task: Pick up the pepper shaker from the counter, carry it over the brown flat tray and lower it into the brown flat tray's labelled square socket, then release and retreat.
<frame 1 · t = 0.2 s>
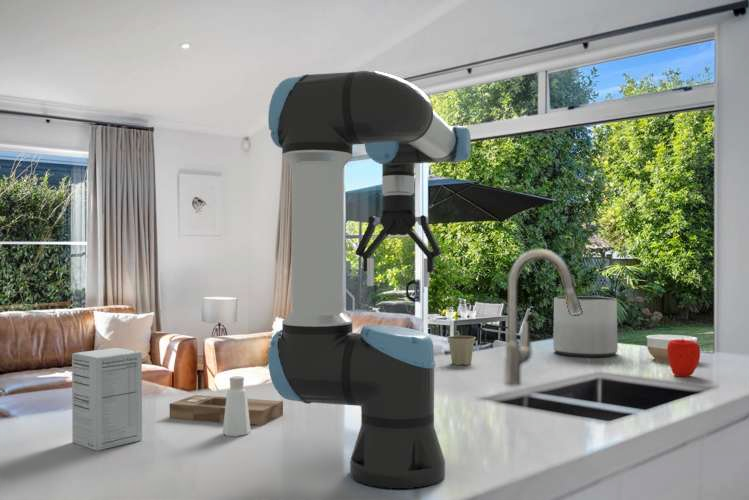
hand: (398, 286, 161), 28 cm above the counter, fingers open, 13 cm apart
planter: (585, 354, 249), on the counter
pepper shaker: (236, 434, 136), on the counter
bowl: (671, 361, 233), on the counter
brown flat tray: (226, 416, 150), on the counter
flower pot: (461, 364, 224), on the counter
supplement box: (107, 442, 130), on the counter
apple: (683, 376, 203), on the counter
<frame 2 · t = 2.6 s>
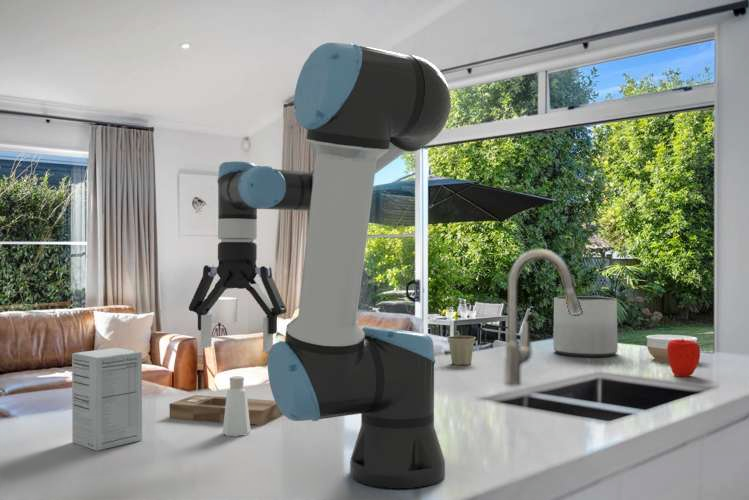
hand: (236, 349, 136), 16 cm above the counter, fingers open, 13 cm apart
nothing on the counter moved.
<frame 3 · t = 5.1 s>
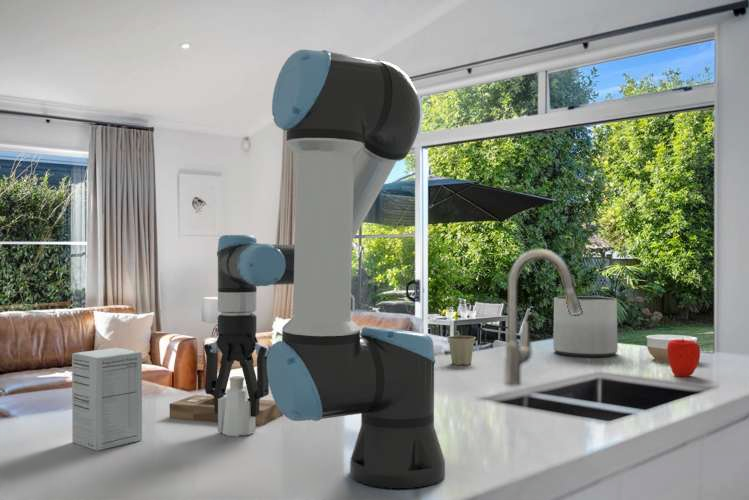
hand: (236, 431, 136), 0 cm above the counter, fingers closed on pepper shaker, 5 cm apart
pepper shaker: (236, 434, 136), on the counter, touching gripper
everything else where it was.
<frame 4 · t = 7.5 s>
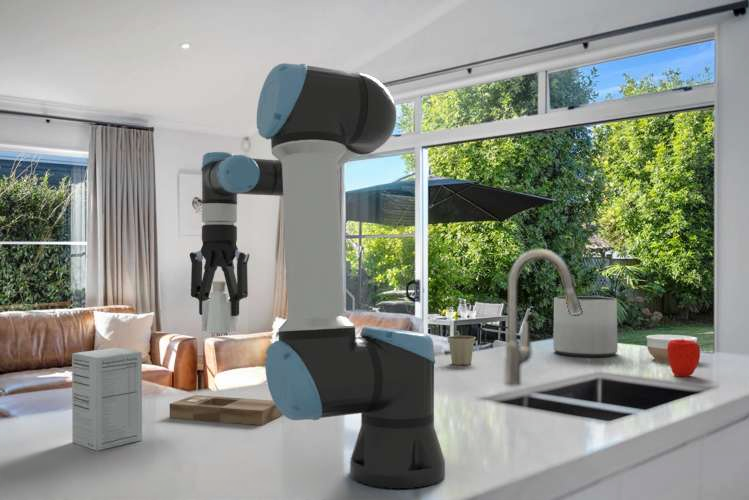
hand: (218, 330, 151), 19 cm above the counter, fingers closed on pepper shaker, 5 cm apart
pepper shaker: (218, 332, 151), point 18 cm above the counter, touching gripper
everything else where it was.
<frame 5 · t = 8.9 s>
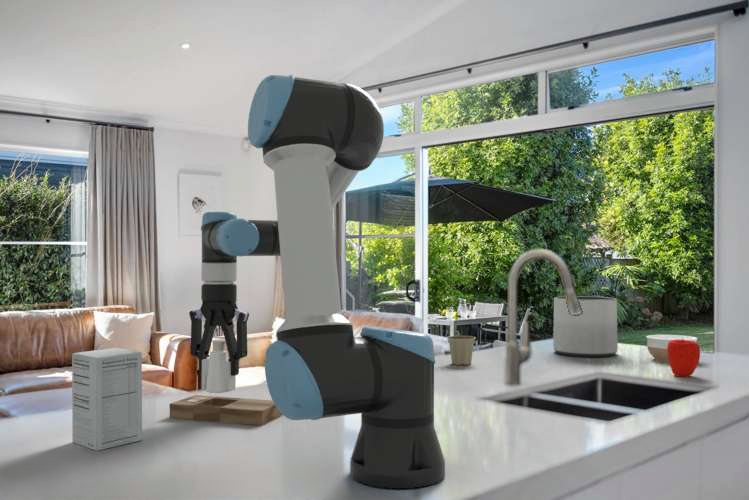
hand: (218, 389, 151), 6 cm above the counter, fingers closed on pepper shaker, 5 cm apart
pepper shaker: (218, 391, 151), point 5 cm above the counter, touching gripper
everything else where it was.
when the fingers open (4 cm above the counter, at t = 9.9 s): pepper shaker drops 3 cm, resting in brown flat tray.
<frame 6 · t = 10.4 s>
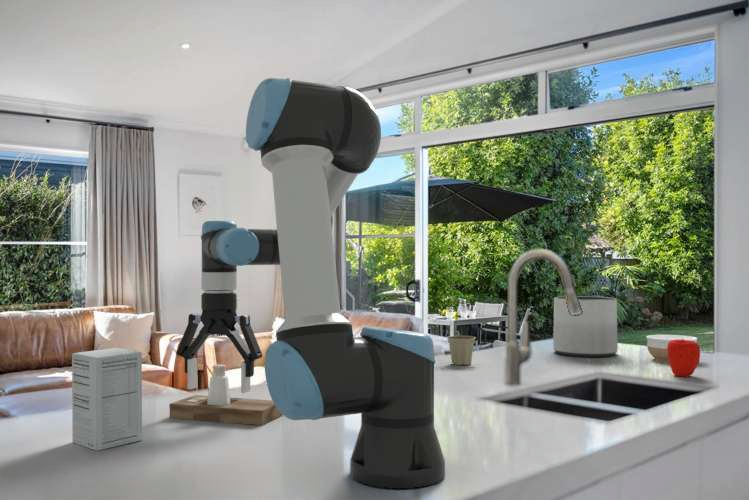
hand: (218, 390, 151), 6 cm above the counter, fingers open, 12 cm apart
pepper shaker: (218, 416, 151), resting in brown flat tray
everything else where it was.
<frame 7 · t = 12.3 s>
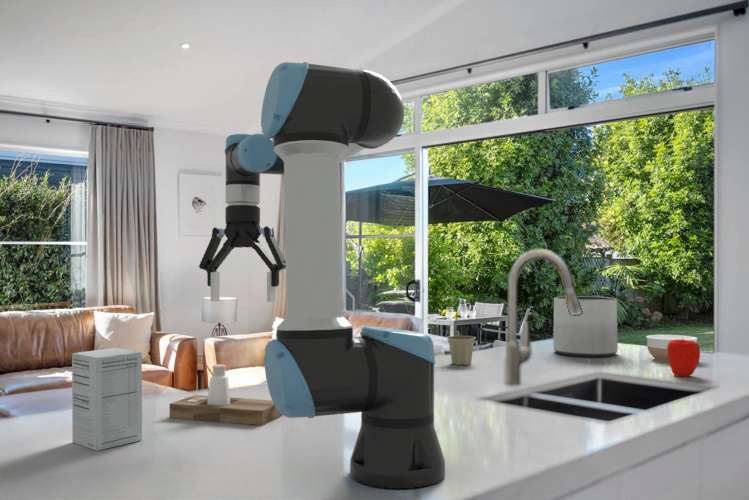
hand: (242, 301, 153), 25 cm above the counter, fingers open, 13 cm apart
nothing on the counter moved.
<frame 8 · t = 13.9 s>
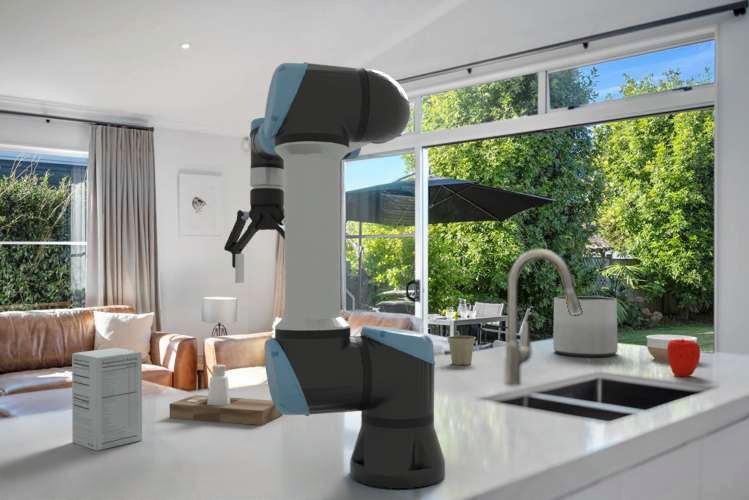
hand: (266, 283, 155), 29 cm above the counter, fingers open, 13 cm apart
nothing on the counter moved.
at the end: pepper shaker 0.1 cm from the target spot on the brown flat tray, point 0.0 cm above the brown flat tray's base; pepper shaker tilted 0°; the gripper is holding nothing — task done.
